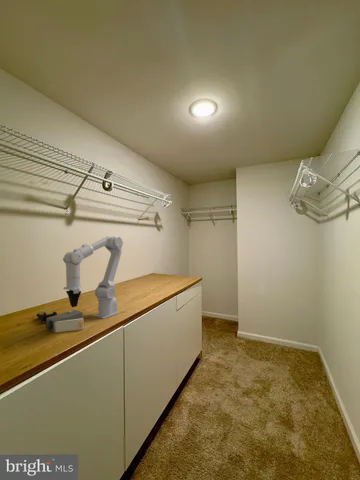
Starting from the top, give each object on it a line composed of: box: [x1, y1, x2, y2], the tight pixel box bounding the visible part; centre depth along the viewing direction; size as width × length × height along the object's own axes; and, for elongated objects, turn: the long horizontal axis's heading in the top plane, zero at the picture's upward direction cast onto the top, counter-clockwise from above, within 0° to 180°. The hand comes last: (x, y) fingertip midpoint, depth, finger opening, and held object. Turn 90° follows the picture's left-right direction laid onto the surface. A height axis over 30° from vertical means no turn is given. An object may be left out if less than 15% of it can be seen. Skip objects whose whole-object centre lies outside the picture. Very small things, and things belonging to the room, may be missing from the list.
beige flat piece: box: [53, 318, 84, 333], centre depth 91 cm, size 12×2×4 cm, turn 107°
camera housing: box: [45, 309, 84, 333], centre depth 97 cm, size 14×8×6 cm, turn 147°
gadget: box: [36, 308, 58, 323], centre depth 105 cm, size 6×13×6 cm, turn 50°
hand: (73, 305), depth 94 cm, fingers open, 2 cm apart
